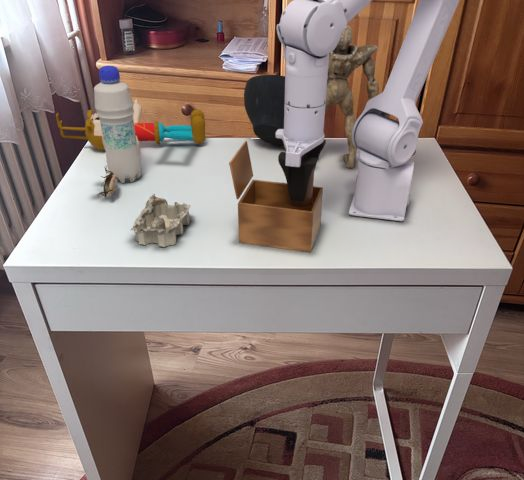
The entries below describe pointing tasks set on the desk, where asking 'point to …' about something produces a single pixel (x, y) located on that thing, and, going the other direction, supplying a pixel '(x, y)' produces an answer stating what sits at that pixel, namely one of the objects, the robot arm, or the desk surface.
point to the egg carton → (161, 222)
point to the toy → (142, 129)
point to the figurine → (338, 88)
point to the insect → (109, 183)
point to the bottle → (117, 124)
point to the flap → (241, 169)
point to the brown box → (277, 217)
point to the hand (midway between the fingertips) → (300, 193)
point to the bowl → (266, 106)
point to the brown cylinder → (308, 197)
